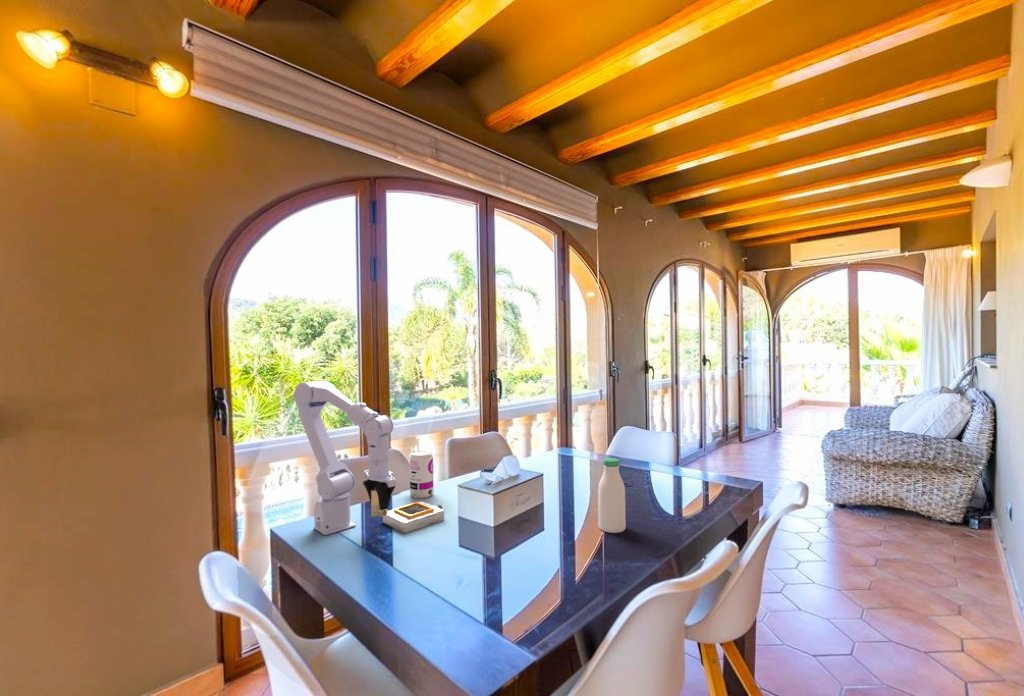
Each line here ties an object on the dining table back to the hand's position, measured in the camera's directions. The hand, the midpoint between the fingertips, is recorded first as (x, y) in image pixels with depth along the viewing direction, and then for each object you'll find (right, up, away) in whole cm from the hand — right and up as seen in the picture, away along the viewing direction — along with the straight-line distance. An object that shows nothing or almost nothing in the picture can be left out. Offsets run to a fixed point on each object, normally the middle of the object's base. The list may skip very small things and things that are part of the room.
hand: (379, 506), depth 132 cm
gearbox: (+9, -7, +10) cm, 16 cm away
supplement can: (+5, -8, +34) cm, 35 cm away
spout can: (0, -2, 0) cm, 2 cm away
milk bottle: (+67, -7, +2) cm, 67 cm away
